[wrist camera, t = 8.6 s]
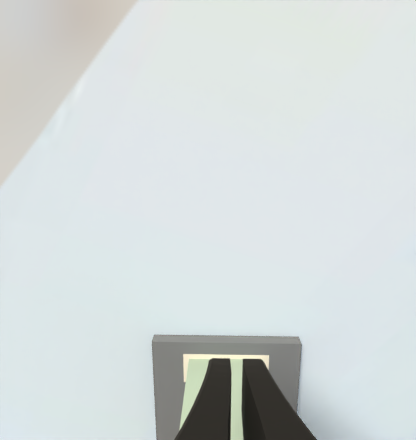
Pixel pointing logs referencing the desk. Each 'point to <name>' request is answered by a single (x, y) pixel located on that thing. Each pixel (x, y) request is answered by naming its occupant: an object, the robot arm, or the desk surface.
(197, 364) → the green domino
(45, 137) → the desk surface
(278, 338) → the board
